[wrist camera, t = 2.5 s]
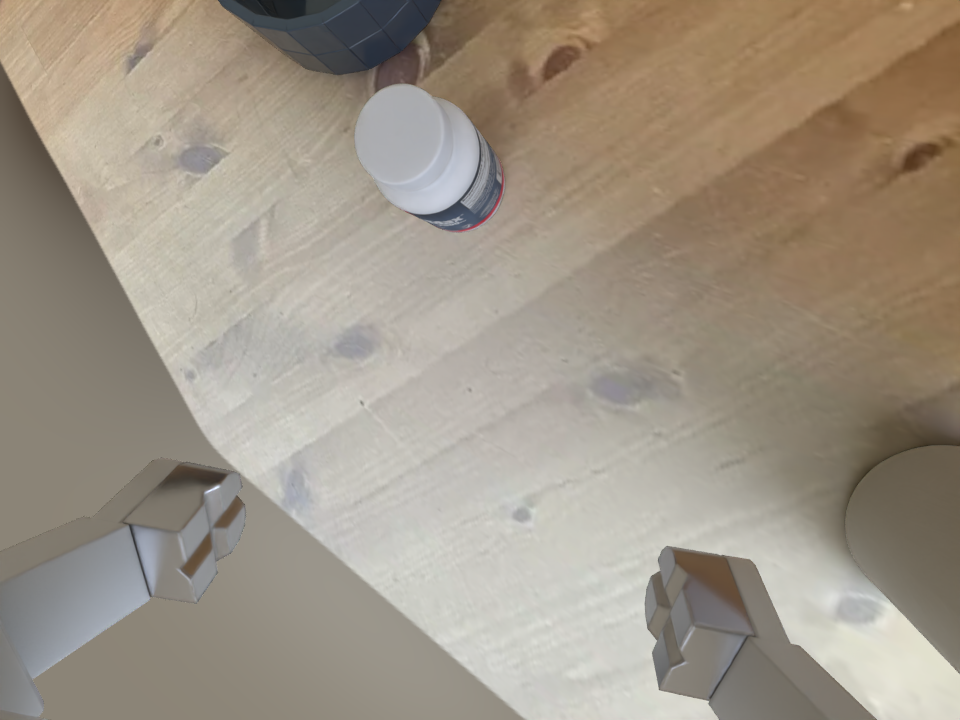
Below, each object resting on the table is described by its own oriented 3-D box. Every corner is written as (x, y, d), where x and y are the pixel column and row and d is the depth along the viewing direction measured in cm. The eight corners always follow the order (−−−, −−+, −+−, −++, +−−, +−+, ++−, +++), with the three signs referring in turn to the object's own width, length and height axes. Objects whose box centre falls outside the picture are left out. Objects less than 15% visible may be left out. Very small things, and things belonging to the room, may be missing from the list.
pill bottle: (406, 216, 30) (321, 175, 22) (437, 128, 29) (361, 50, 21) (486, 247, 29) (429, 217, 21) (521, 156, 28) (477, 86, 20)
